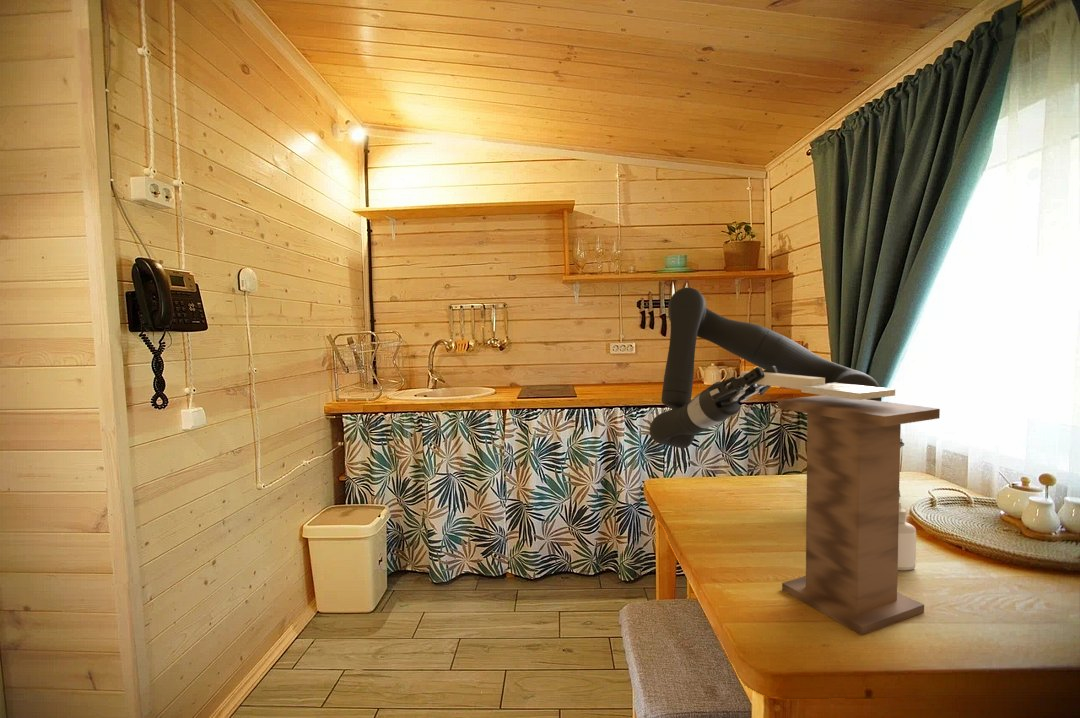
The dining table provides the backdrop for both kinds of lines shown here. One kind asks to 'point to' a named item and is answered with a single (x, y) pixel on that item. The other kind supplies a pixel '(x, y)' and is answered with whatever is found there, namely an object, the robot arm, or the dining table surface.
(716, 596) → the dining table surface
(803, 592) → the shelf stand
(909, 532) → the eye dropper bottle
